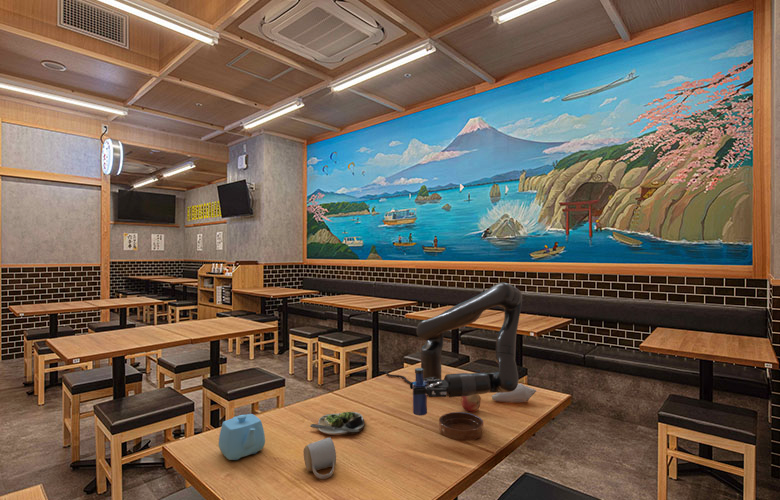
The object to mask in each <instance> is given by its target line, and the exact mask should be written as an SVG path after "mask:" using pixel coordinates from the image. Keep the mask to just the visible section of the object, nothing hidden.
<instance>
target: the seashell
mask: <svg viewBox="0 0 780 500" xmlns="http://www.w3.org/2000/svg"><path fill="white" fill-rule="evenodd" d="M536 393H537V389H535V388H531V387H529V386H526V385H524V384H523V383H518V385H517V388H516V389H515V390H514V391H512V392H502V393H493V394H492V395H491V400H492V401H495V402H500V403H501V402H502V403H512V404H513V403H515V404H516V403H517V404H519V403H527V402H528V401H530V399H531V398H532V397H533V395H534V394H536Z"/></svg>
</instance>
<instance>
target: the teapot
mask: <svg viewBox="0 0 780 500" xmlns="http://www.w3.org/2000/svg"><path fill="white" fill-rule="evenodd" d="M265 435H266V434H265V430H264V426H263V422H262V420H261V419H260V418H259V417H258V416H257V415H255V414H253V413H247V414H240V415H236V416H233V417H232V418H229V419H227V420H224V421H222V424H221V427H220V431H219V437H218V447H219V450H220V452H221V454H222V455H223V456H224V457H225V458H226V459H227V460H229V461H238V460H240V459H241V458H244V457H248V456H250V455H255V454H257V453H258V452H260V451H261V450H263V449H264V447H265V444H266V436H265Z"/></svg>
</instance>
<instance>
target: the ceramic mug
mask: <svg viewBox="0 0 780 500" xmlns="http://www.w3.org/2000/svg"><path fill="white" fill-rule="evenodd" d="M303 461H304V466H305V468H306V470H307V471H308V472H313V474H314V476H315V477H316V478H317V479H320V480H326V479H329V478H330V477H332V475H333V474H334V471H335V466H336V464H337V452H336V447H335V444H334V441H333V439H332V438H331V436H329V437H326V438H322V439H320V440H316V441H315V442H311V443H309V444H307V445H305V446H304V447H303ZM331 467H332V468H331ZM329 468H331V469H330V471H329V472H328V473H326V474H321V473H318V471H319V470H324V469H329Z"/></svg>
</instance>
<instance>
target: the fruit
mask: <svg viewBox="0 0 780 500" xmlns="http://www.w3.org/2000/svg"><path fill="white" fill-rule="evenodd" d="M481 398H482V397H481V394H477V395H470V396H461V397H460V404H461V407H462V408H463V409H464V410H466V411H467V412H469V413H474V412H477V411H478V410H479V409H480V407H481V401H482V399H481Z"/></svg>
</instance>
